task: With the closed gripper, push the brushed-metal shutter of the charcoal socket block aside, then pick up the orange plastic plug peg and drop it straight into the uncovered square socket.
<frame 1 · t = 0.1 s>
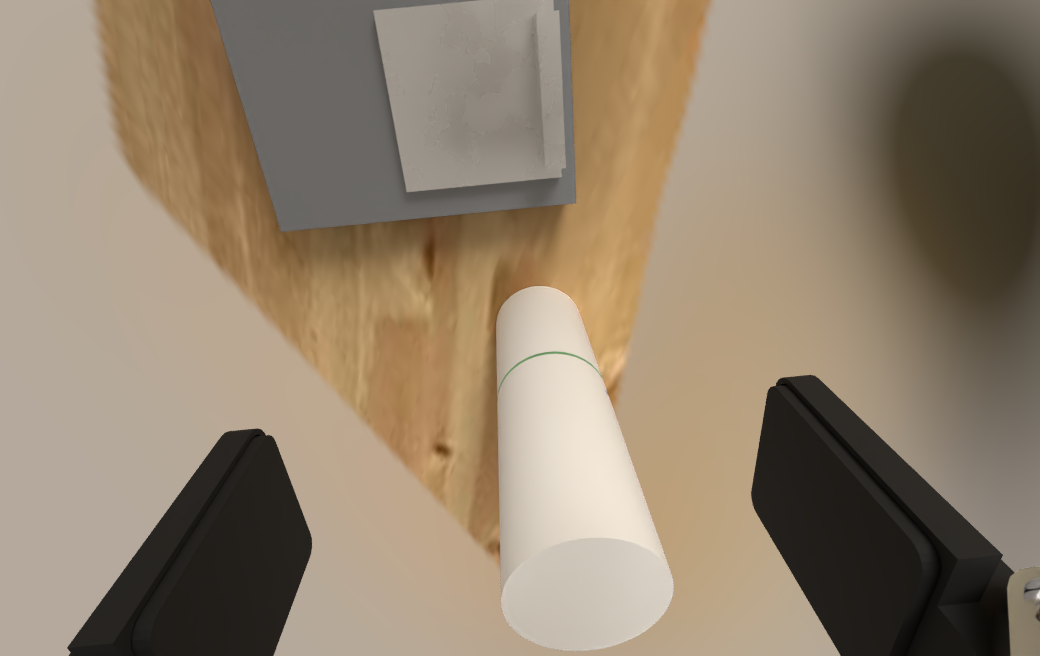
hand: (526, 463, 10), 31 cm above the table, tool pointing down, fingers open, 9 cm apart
shutter: (474, 100, 30), point 6 cm above the table, slide at 0.0 cm
cylindrical container: (538, 324, 44), on the table
socket block: (418, 101, 35), on the table
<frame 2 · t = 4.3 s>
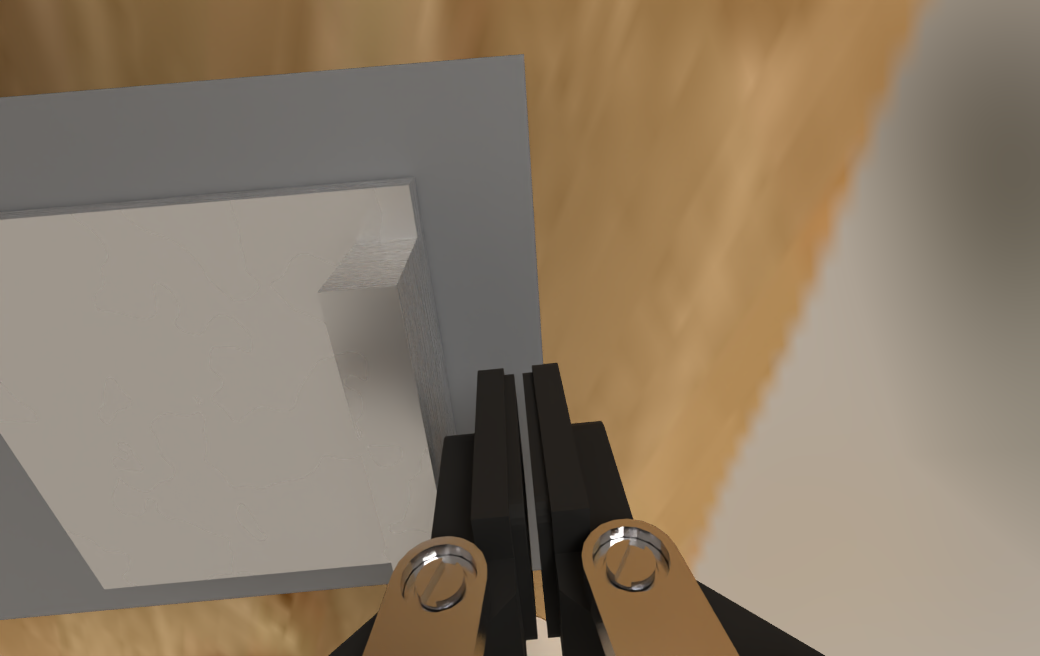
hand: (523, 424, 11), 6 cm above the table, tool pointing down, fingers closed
shutter: (209, 449, 11), point 6 cm above the table, slide at 1.3 cm, touching gripper
cylindrical container: (493, 653, 25), on the table
socket block: (213, 335, 16), on the table
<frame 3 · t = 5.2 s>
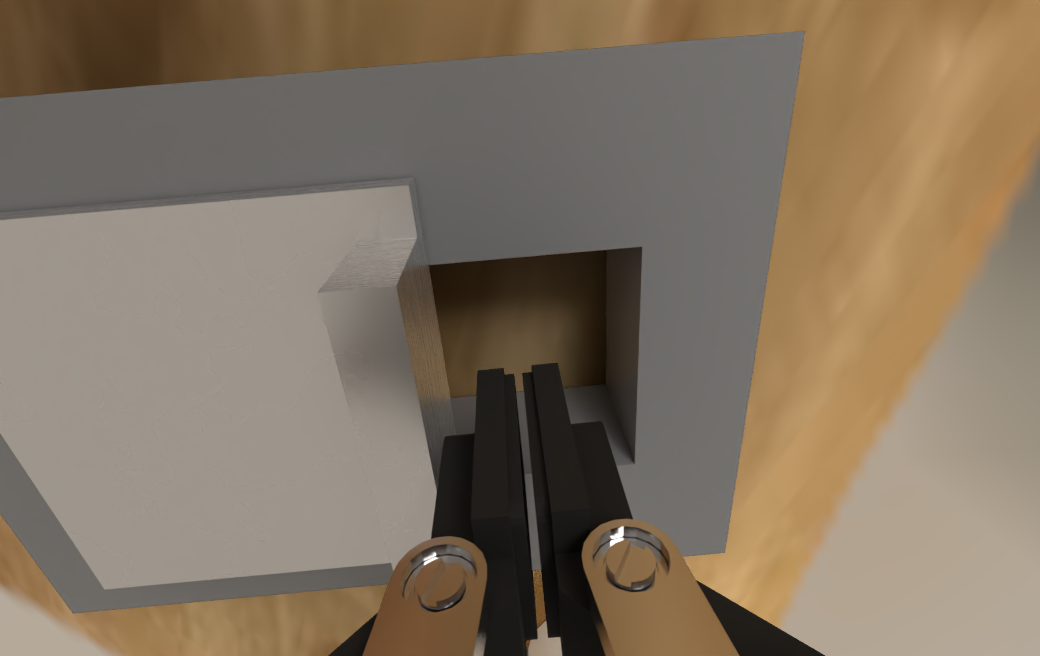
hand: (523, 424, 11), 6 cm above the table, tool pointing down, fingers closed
shutter: (209, 449, 11), point 6 cm above the table, slide at 6.6 cm, touching gripper
cylindrical container: (602, 643, 25), on the table
socket block: (381, 321, 16), on the table
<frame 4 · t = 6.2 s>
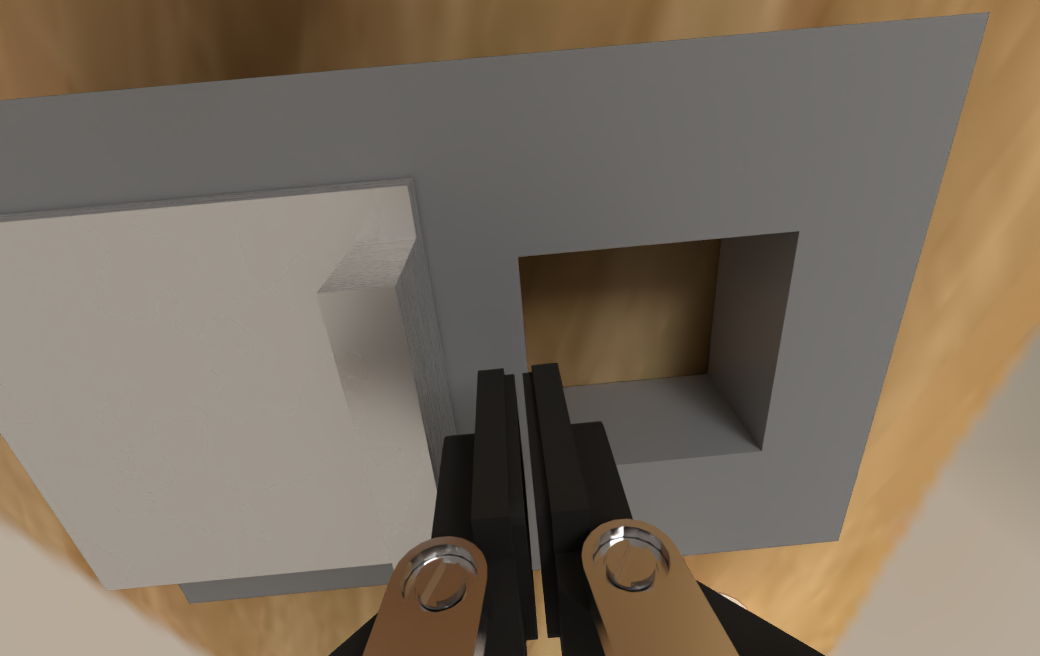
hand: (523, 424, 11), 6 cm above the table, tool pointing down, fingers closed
shutter: (210, 450, 11), point 6 cm above the table, slide at 10.1 cm, touching gripper
socket block: (491, 311, 16), on the table
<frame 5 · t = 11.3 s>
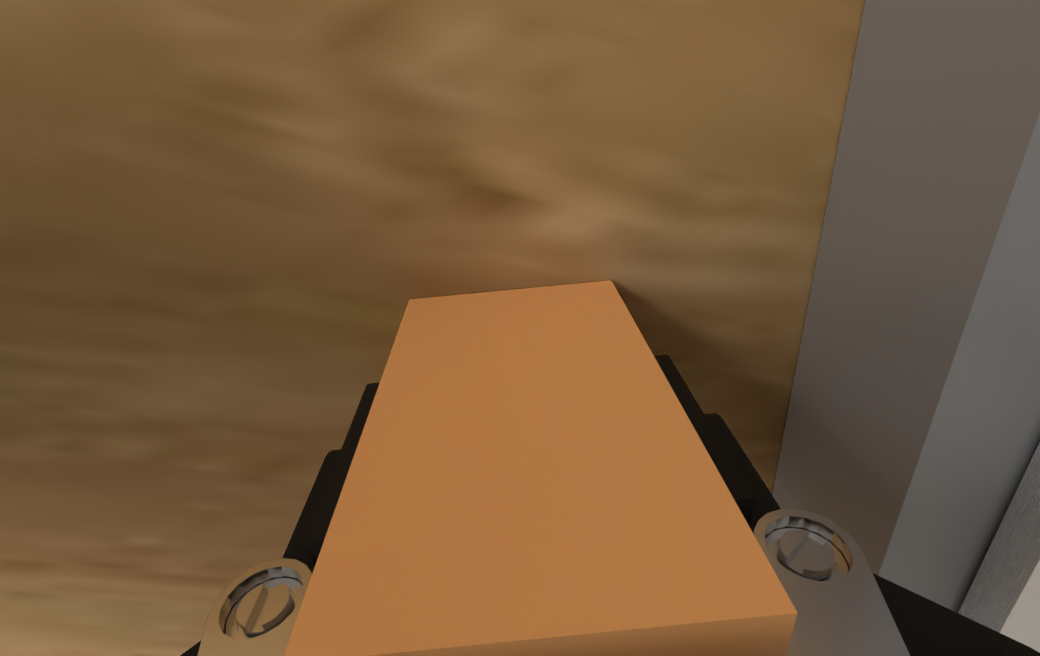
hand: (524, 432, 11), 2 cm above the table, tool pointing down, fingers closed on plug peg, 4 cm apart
plug peg: (518, 375, 13), on the table, touching gripper
when the fingers open (5 cm above the table, at t = 17.4 s): plug peg drops 3 cm, resting in socket block.
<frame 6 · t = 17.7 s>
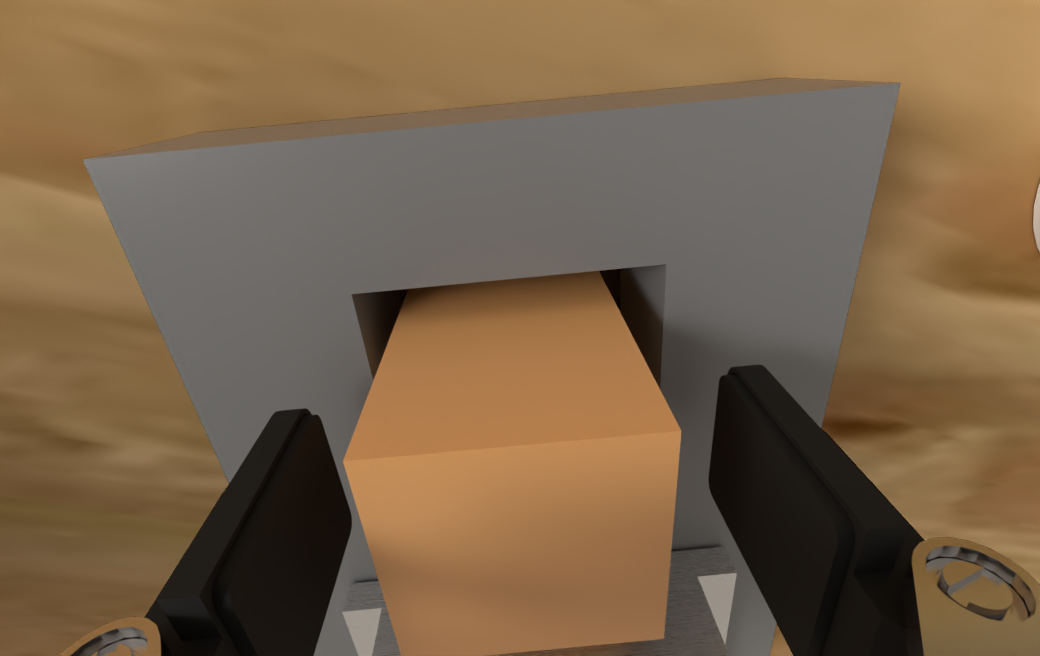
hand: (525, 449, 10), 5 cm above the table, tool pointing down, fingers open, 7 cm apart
socket block: (525, 435, 17), on the table
plug peg: (509, 328, 15), resting in socket block
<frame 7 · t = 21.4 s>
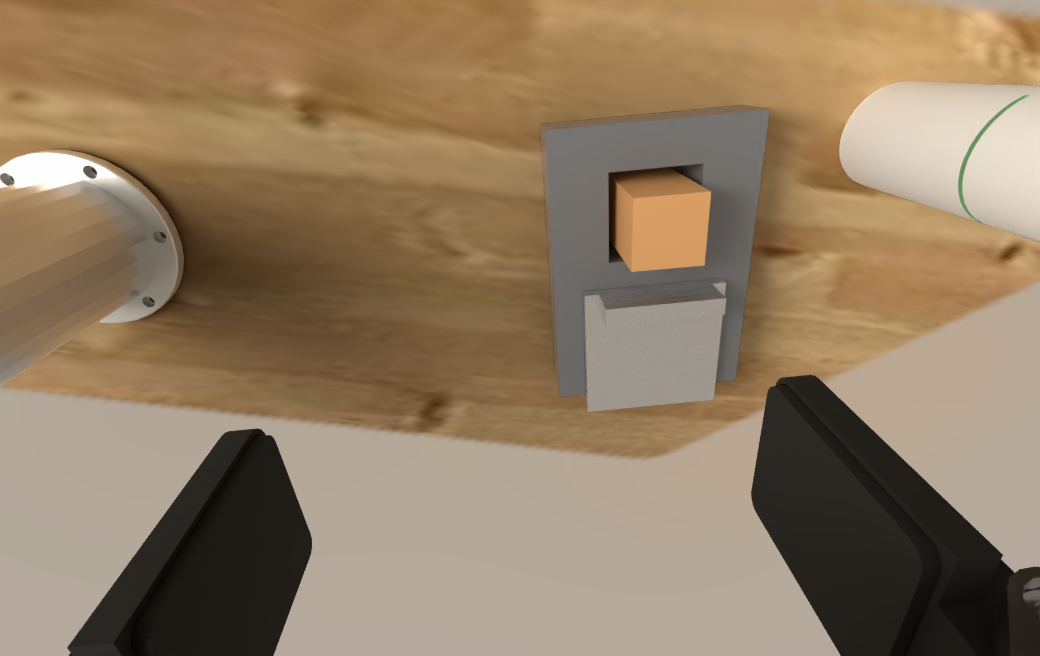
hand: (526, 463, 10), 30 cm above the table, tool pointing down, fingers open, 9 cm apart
shutter: (656, 356, 38), point 6 cm above the table, slide at 10.0 cm
cylindrical container: (887, 135, 37), on the table
socket block: (638, 252, 40), on the table
plug peg: (637, 202, 38), resting in socket block
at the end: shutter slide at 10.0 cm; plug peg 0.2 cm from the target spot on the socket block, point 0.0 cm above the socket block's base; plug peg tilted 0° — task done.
